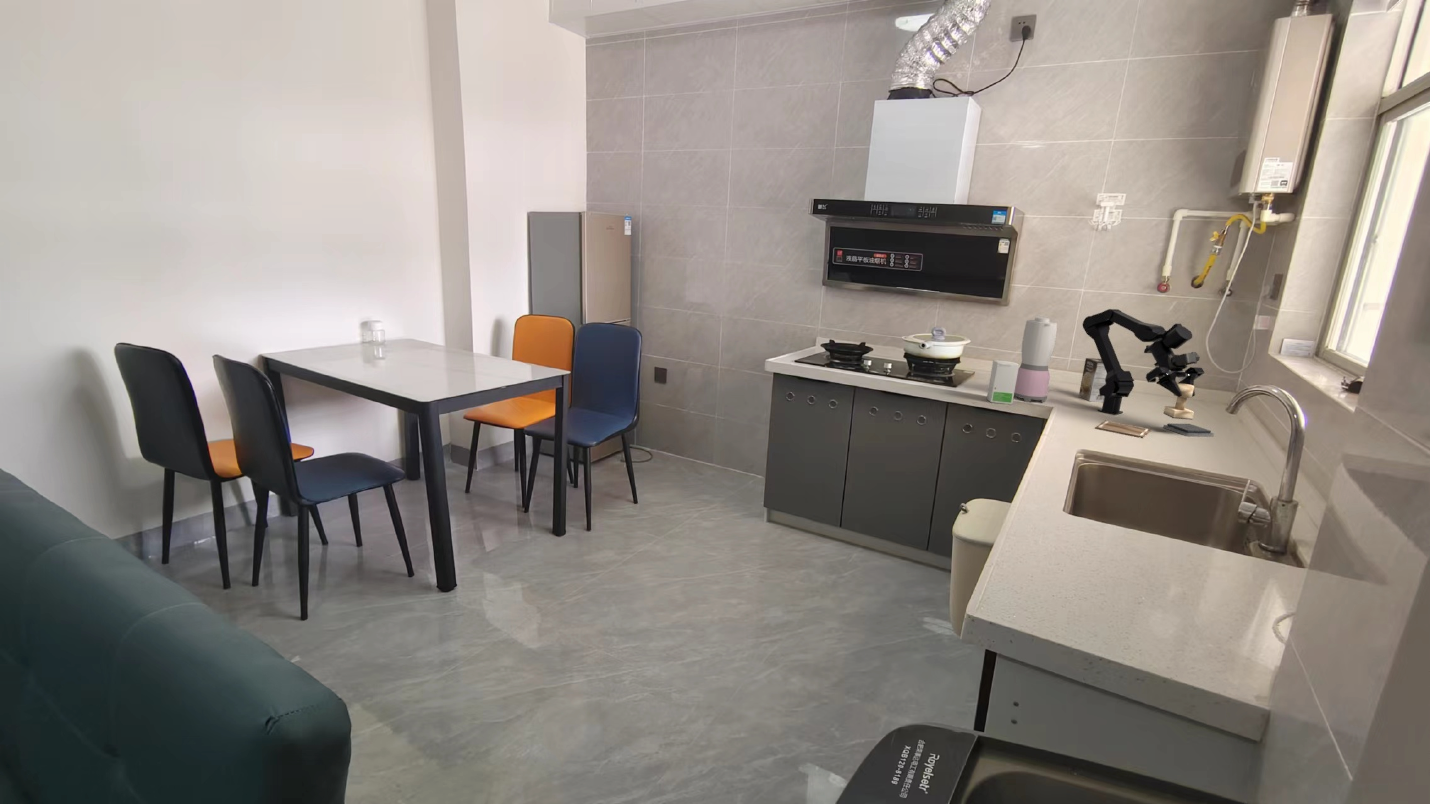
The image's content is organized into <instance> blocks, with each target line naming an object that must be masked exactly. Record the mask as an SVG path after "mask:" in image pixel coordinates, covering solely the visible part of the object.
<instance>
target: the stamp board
mask: <svg viewBox="0 0 1430 804" xmlns="http://www.w3.org/2000/svg"><path fill="white" fill-rule="evenodd" d="M1094 429H1095V430H1100V431H1106V432H1111V433H1116V434H1121V435H1126V436H1131V437H1134V438H1135V437H1136V438H1139V437H1141V438H1140V439H1144V438H1145V437H1146V436H1147V435H1149V433H1150V432H1152V429H1151V428H1146V427H1141V426H1135V425H1130V424H1126V423H1120V422H1117V421H1116V422H1114V421H1110V420H1104V421H1102V422H1101V423H1100V424H1098V425H1096V426H1095V428H1094ZM1145 435H1146V436H1145ZM1143 437H1144V438H1143Z"/></svg>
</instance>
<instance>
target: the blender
mask: <svg viewBox="0 0 1430 804" xmlns="http://www.w3.org/2000/svg"><path fill="white" fill-rule="evenodd" d="M1050 320H1051V318H1049V317H1041V316H1038V317H1037V316H1035V317H1034V319H1027V320H1026V321H1025V322H1026V323H1025V325H1024V326H1025V327H1024V330H1023V336H1022V342H1021V362H1020V363H1021V364H1019V368H1018V374H1017V379H1016V385H1015V391H1014V396H1013V397H1017V398H1022V399H1023V401H1024V402H1025V403H1030V402H1031V400H1036V401H1040V403H1043V402H1044V403H1045V402H1046V400H1047V398H1048V396H1047V394H1048V390H1049V384H1050V379H1051V375H1050V371H1049V363H1050V361H1051V358H1052V354H1053V352H1054V349H1055V345H1056V339H1057V338H1056V337H1057V329H1058V323H1057V322H1055V321H1050Z"/></svg>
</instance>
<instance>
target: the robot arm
mask: <svg viewBox="0 0 1430 804" xmlns="http://www.w3.org/2000/svg"><path fill="white" fill-rule="evenodd" d="M1114 324H1116V325H1118V326H1120V327H1122V328H1124V329H1125V330H1128V331H1130V332H1131V333H1133V335H1134V337H1135V338H1137V339H1138V340H1139V341H1140V342H1143V343H1151V344H1149V345H1146V346H1145V348H1144V350H1143V353H1144V354H1151V355H1152V357H1153V359H1154V360H1155V363H1154V364H1153V365H1154V366H1155V367H1154V368H1153V369H1151V370H1150V371H1149V372H1147V373H1146V376H1145V379H1146V381H1147V383H1156V384H1157V385H1159V386H1160V387H1162V388H1164V389H1166V390H1168V391H1169V392H1170V393H1172V394H1173V395H1174V394H1175V395H1176V396H1175V397H1177V396H1178V397H1181V396H1182V394H1181V391H1180V389H1179V387H1178V385H1177V383H1182V384H1189V385H1193V386H1194V387H1195V383H1194V381H1195V380H1197V379H1198V378H1201V376H1203V375H1204V374H1205V370H1204V368H1202V367H1199V366H1192V367H1191V366H1190V367H1189V368H1188V365H1192V364H1194V365H1195V364H1196V365H1197V364H1198V362H1199V361H1200V357H1201V356H1199V354H1198V352H1197V351H1192V352H1188V353H1181V354H1175V352H1174V350H1178V349H1180V347H1182V346H1183V345H1185V344H1186V343H1188V342H1189V341H1190V340H1191V339H1193V333H1192V332H1191V330H1189V329H1188V328H1187V327H1185V326H1183V325H1182V323H1174V324H1173V325H1172V326H1171V327H1170V328H1169V329H1167V330H1166V329H1165V328H1164V327H1163V326H1162V325H1157V324H1154V323H1148V322H1147V323H1146V322H1143V321H1142V320H1139V319H1138V318H1136V317H1133V316H1131V315H1129V314H1127V313H1125V312H1122V310H1120V309H1117V308H1116V309H1115V308H1113V309H1112V308H1108V309H1105V310H1104V311H1102V312H1098V313H1096V314H1092V315H1088V316H1086V317H1085V318H1084V320H1083V322H1082V329H1083V330H1084V332H1085V333H1086V335H1088V337H1090V338H1091V339H1092V340H1093V341H1094V344H1095V346H1096V350H1097V352H1098V354H1099V357H1100V359H1102V362H1103V364H1104V367H1105V370H1106V372H1107V375H1106V378H1105V382H1106V384H1105V385H1104V386H1102V387H1101V388H1100V389H1099V394H1100V395H1103V396H1104V401H1103V402H1102V407H1101V408H1098V409H1097V411H1098V412H1102V413H1107V414H1112V415H1119V414H1123V413H1124V411H1123V410H1121V405H1122V400H1123V398H1128V397H1129V396H1130V394H1131V392H1132V391H1133V389H1134V387H1135V379H1134V378H1133V375H1132V373H1131V371H1130V370H1124V369H1123V368H1122V366H1121V364H1120V361H1119V359H1118V357H1117V354H1116V351H1115V349H1114V347H1113V344H1112V342H1111V339H1110V336H1109V333H1110V330H1111V329H1110V328H1111V326H1112V325H1114ZM1173 349H1174V350H1173ZM1157 378H1158V381H1157ZM1176 378H1178V380H1179V381H1178V382H1177V381H1176V380H1177V379H1176ZM1156 381H1157V382H1156ZM1195 392H1196V391H1195V389H1194V390H1193V394H1192V398H1193V397H1194V396H1196V393H1195Z"/></svg>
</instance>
